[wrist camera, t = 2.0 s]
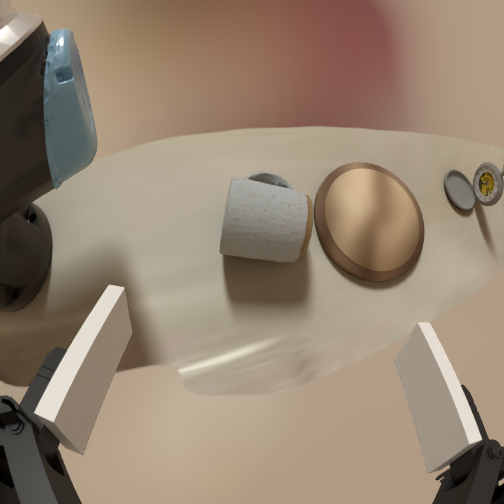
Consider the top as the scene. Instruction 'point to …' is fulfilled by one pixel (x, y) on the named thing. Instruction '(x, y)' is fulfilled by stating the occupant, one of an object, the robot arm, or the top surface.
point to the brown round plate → (369, 222)
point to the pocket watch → (475, 186)
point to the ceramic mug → (266, 219)
